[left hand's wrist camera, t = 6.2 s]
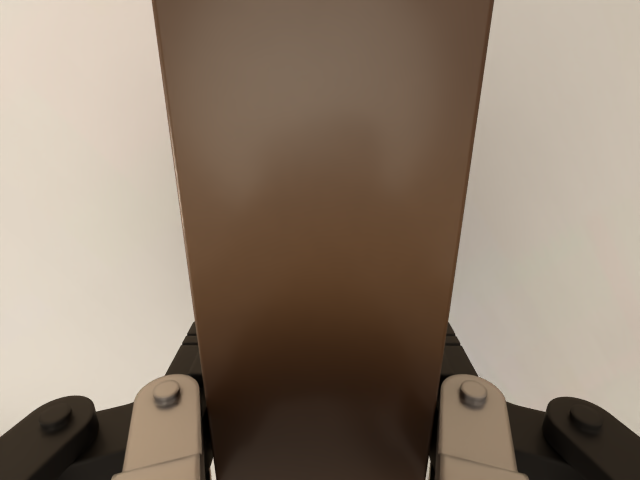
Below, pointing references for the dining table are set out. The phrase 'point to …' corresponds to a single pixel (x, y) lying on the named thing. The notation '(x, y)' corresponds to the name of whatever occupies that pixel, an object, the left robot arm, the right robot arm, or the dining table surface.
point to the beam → (321, 220)
